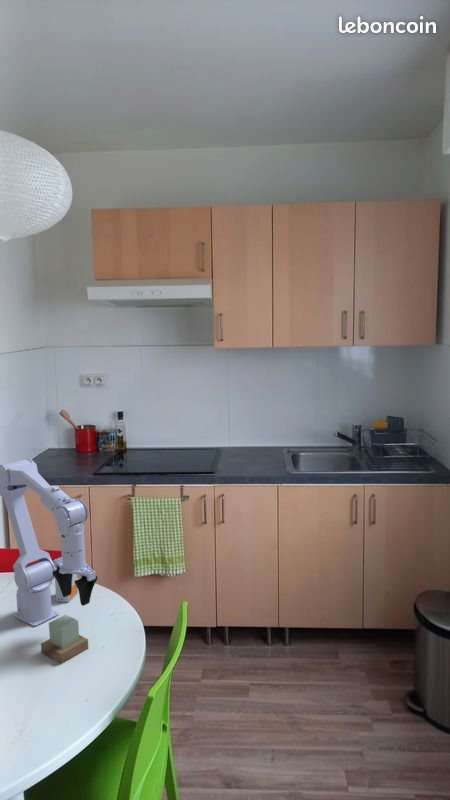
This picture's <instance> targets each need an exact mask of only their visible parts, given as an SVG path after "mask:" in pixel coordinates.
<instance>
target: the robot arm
mask: <svg viewBox="0 0 450 800" xmlns="http://www.w3.org/2000/svg"><path fill="white" fill-rule="evenodd" d="M28 489H30V490H31V491H33V492H34V493H36V494H37V495H38V496H40V500H39V501H40V503H41V504H42V505H43V506H44V507H45V508H46V509H47V510H48V511H49V512H50V513H51V514H52V515H53V516H54V520H55V523H56V526H57V531H58V534H60V546H61V549H60V550H61V557H62V558H61V557H58V558H55V559H54V560H52V558H51V556H50V553H49V552H47V551H45V550H43V549H40V546H39V543H38V540H37V536H36V533H35V530H34V527H33V522H32V519H31V515H30V513H29V510H28V509H29V508H28V506H27V503H26V500H25V492H26V491H28ZM0 497H3V500H4V504H5V507H6V510H7V513H8V517H9V520H10V524H11V528H12V531H13V534H14V537H15V541H16V544H17V548H18V551H19V557H18V558H17V560H16V561H15V563H14V564H13V565H12V567H13V573H14V583H15V585H16V586H17V590H16V608H17V613H16V614H14V617H15V618H17V619H19V620H20V621H22V622H24V623H26V624H28V625H29V626H32V627H37V626H39V625H41V624H43V623H45V622H47V621H49V620H51V619H53V618H56V617H57V616H59V612H57V611H55V610H53V609H52V596H51V585H52V584H53V580H55V578H56V580H57V582H58V584H59V586H60V589H61V592H62V595H63V597H66V596H69V595H71V591H72V576H73V574H77V576H79V577H80V578H79V579H78V578H77V580H76V581H75V584H76V586H77V588H78V595H79V602H80V605H81V606H82V607H84V606H86V605H88V604H90V602H91V601H90V600H91V598H92V593H93V589H94V588H95V587H94V586H95V584H96V582H97V580H98V575H96V574H97V573H96V570H94V569H92V568H91V567H90V566H89V565H88V563H86V548H85V547H86V546H85V545H86V544H85V543H86V542H85V526H84V522H86V521H87V519H88V516H89V512H88V507H87V504H85V502H84V501H83V500H82V499H80V498H79V499H76V498H71V497H70V495H68V494H67V493H65V491H63V490H62V489H61V488H60V487H59V486H58V485H50V483H48V481H46V480H45V479H44V477H42V475H41V473H39V469H38V466H37V463H36V462H35V461H34V460H33V459H32V458H24V459H21V460H18V461H13V462H8V463H0ZM30 563H31V564H30ZM56 568H57V570H56Z"/></svg>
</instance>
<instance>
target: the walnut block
mask: <svg viewBox="0 0 450 800" xmlns="http://www.w3.org/2000/svg"><path fill="white" fill-rule="evenodd" d="M40 646H41V647H40V648H41V650H40V651H41V654H42V655H44V656H46V657H47V658H50V659H52V660H53V661H55V662H57V663H59V664H60V665H62V664H65V663H66V662H68V661H69V660H71V659H73V658H75V657H76V656H78V655H80V654H82V653H84V652H85V651H87V650H89V638H86V637H84V636H82V635H80V634H79V640H77V641H75V642H73V643H72V644H70V645H68V646H66V647H65V648H63V649H62V648H61V647H59V646H57V645H55V644H53V643H51V642H50V638H49V639H47V640H45V641H42V642H41V643H40Z"/></svg>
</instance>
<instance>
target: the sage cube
mask: <svg viewBox="0 0 450 800" xmlns="http://www.w3.org/2000/svg"><path fill="white" fill-rule="evenodd" d="M79 626H80V625H79V620H78V619H76V618H73V617H72V616H70V615H68V614H64V615H61V616H60V617H58V618H56V619H54V620H52V621H50V622H49V623H48V630H49V631H48V632H49V633H48V634H49V639H50V642H51V643H53V644H55V645H57V646H59V647H61V648H62V649H63V648H65V647H66V646H68V645H70V644H72V643H73V642H75V641H77V640H79V635H80V629H79Z"/></svg>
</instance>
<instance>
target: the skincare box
mask: <svg viewBox="0 0 450 800" xmlns="http://www.w3.org/2000/svg"><path fill="white" fill-rule="evenodd" d="M60 558H62V556H60ZM56 570H57V568H56ZM76 580H78V575H77V574H73V576H72V591H71V595H69V596H66V597H63V595H62V592H61V589H60V586H59V584H58V582H57V580H56V578H54V583H55V584H54V587H55V602H59V603H60V602H61V603H62V602H63V603H70V601H71V600H73V598H74V597H75V596H76V595H79V591H78V588H77V586H76V584H75V581H76Z"/></svg>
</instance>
